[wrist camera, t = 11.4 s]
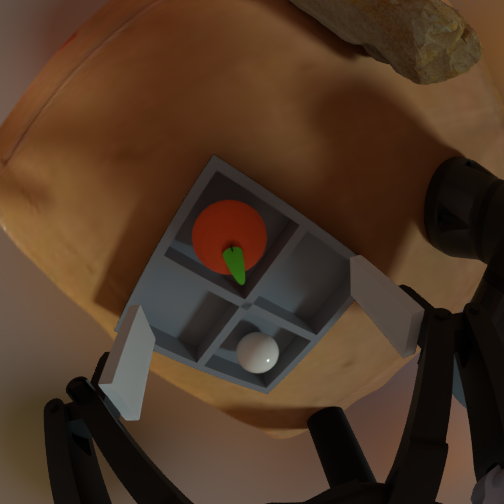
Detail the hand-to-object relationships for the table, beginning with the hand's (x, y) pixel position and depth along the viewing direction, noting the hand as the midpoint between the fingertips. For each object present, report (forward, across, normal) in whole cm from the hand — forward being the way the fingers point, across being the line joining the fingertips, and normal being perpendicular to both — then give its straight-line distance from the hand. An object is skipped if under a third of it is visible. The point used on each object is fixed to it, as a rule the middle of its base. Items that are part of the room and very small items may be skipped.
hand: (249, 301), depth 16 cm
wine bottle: (+16, -10, +41) cm, 45 cm away
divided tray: (+15, 0, +7) cm, 17 cm away
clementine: (+14, 0, 0) cm, 14 cm away
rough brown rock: (+15, -20, -26) cm, 36 cm away
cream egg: (+14, 0, +15) cm, 20 cm away
